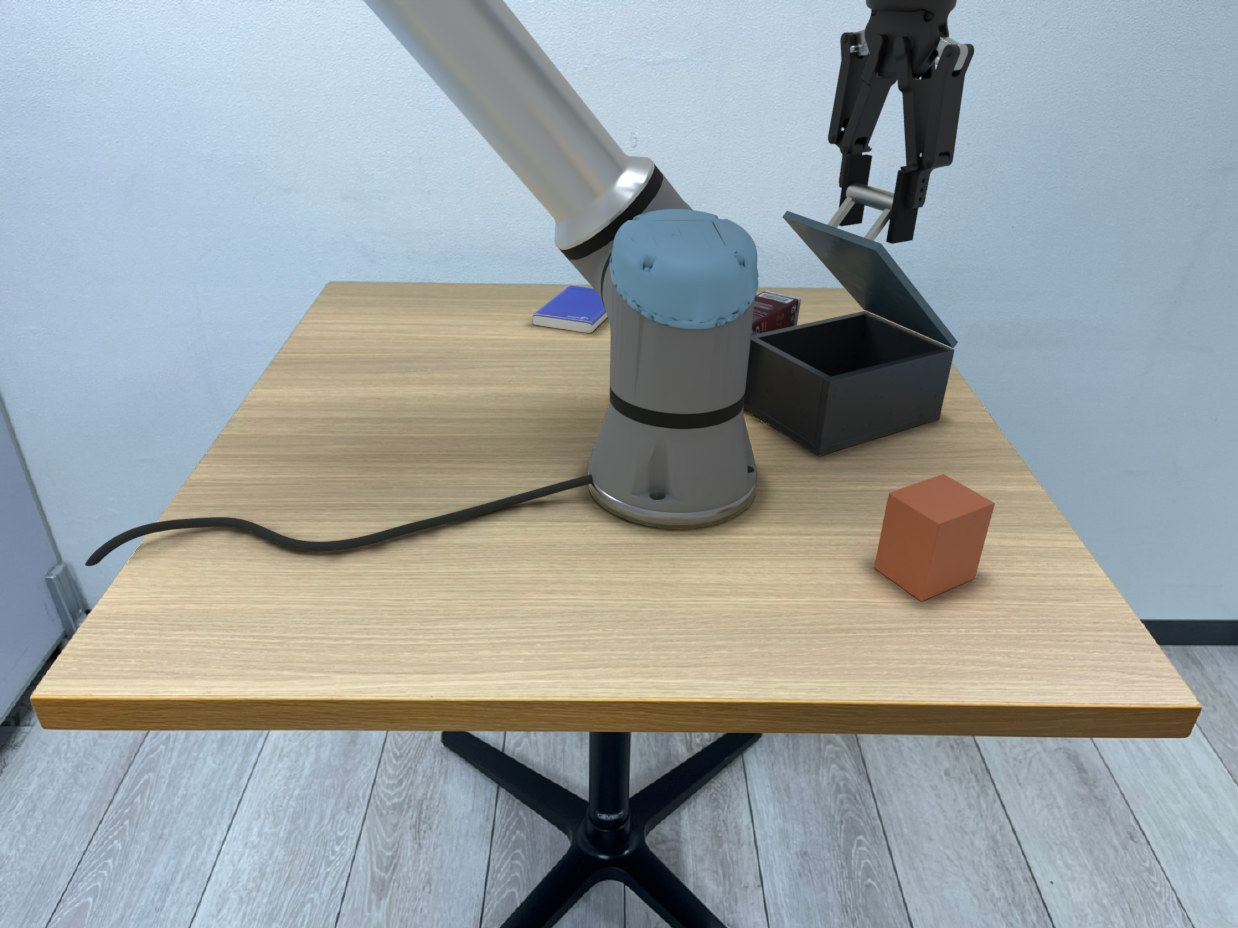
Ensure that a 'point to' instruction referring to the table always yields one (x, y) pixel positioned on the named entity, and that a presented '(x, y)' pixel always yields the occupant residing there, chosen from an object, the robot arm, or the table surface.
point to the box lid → (870, 265)
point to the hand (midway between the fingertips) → (873, 231)
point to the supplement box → (774, 312)
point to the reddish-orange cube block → (933, 536)
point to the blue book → (573, 310)
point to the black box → (845, 380)
